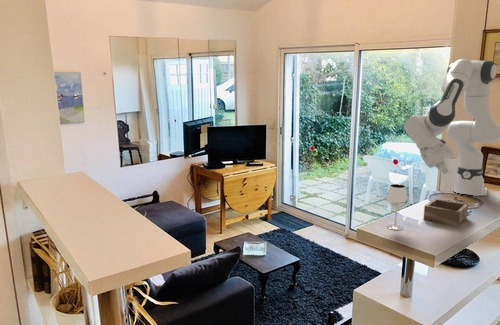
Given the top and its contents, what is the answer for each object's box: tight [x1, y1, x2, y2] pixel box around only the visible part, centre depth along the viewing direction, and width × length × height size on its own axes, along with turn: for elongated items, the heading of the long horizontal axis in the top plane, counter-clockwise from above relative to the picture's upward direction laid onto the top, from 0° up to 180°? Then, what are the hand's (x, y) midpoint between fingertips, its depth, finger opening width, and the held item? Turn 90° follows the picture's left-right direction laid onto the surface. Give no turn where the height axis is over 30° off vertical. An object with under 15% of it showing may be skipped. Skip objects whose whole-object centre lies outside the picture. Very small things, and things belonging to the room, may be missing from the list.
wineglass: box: [385, 183, 409, 231], centre depth 162 cm, size 8×8×18 cm
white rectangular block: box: [440, 155, 459, 193], centre depth 170 cm, size 7×7×15 cm
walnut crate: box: [422, 198, 469, 228], centre depth 173 cm, size 14×14×6 cm
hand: (450, 171), depth 169 cm, fingers closed on white rectangular block, 6 cm apart
